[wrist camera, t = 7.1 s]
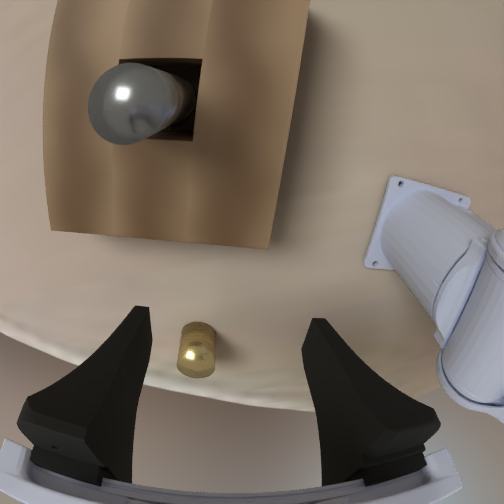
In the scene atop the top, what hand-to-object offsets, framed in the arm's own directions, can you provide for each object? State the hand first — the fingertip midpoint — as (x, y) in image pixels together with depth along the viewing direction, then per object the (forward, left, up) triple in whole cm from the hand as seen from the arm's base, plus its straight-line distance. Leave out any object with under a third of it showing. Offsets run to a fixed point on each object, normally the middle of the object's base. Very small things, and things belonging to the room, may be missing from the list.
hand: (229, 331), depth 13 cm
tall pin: (+5, -9, -10) cm, 14 cm away
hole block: (+5, -9, -10) cm, 15 cm away
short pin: (+2, +11, -11) cm, 15 cm away
